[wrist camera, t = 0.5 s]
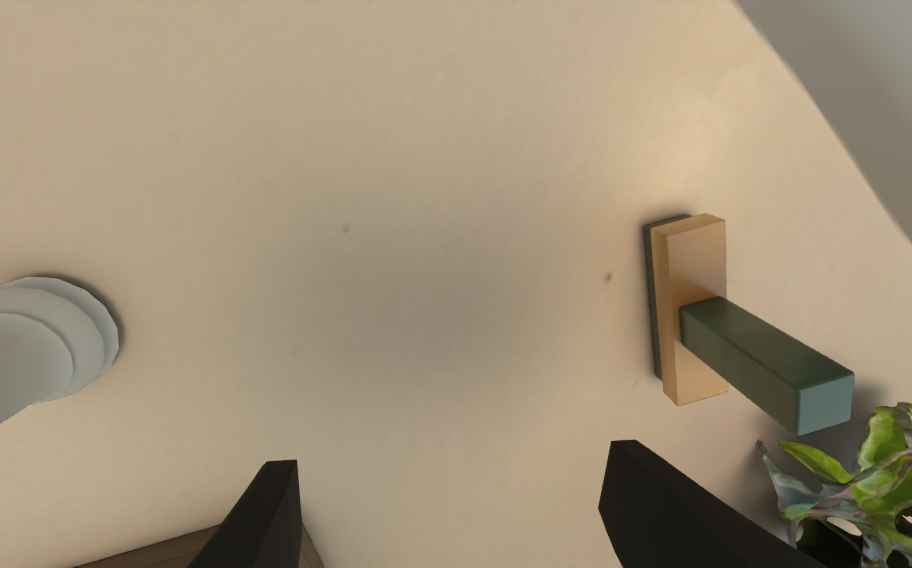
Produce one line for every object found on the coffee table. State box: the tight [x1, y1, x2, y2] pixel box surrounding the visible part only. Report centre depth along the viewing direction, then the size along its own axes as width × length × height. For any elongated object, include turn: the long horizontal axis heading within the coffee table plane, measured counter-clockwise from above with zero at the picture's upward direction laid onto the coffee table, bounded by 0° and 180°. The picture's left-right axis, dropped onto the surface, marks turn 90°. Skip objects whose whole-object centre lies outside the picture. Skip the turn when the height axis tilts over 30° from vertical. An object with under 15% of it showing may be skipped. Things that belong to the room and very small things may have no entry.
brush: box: [643, 213, 855, 437], centre depth 18 cm, size 8×2×8 cm, turn 13°
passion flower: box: [757, 402, 912, 568], centre depth 24 cm, size 11×11×12 cm
